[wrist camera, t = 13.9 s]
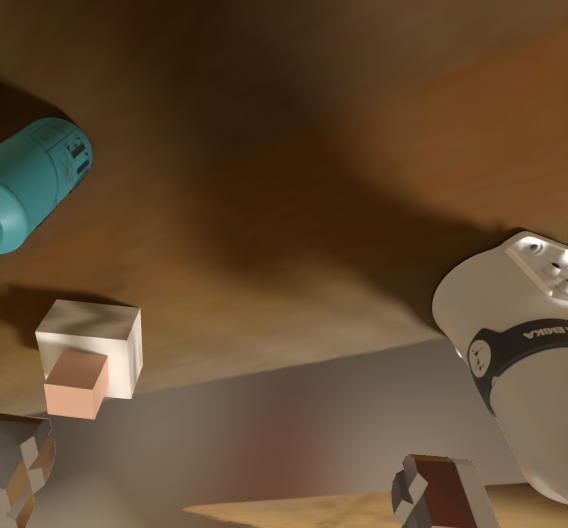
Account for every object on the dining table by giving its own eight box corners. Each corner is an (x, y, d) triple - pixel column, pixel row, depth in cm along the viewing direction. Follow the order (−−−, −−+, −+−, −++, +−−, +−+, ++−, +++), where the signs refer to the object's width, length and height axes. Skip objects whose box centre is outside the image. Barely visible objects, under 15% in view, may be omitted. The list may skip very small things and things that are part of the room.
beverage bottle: (17, 124, 43) (-151, 225, 26) (76, 98, 42) (-61, 187, 25) (59, 183, 46) (-66, 306, 30) (115, 161, 45) (17, 276, 28)
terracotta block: (108, 355, 52) (92, 390, 48) (108, 384, 55) (94, 419, 50) (63, 349, 51) (43, 383, 47) (66, 379, 54) (48, 413, 50)
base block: (140, 306, 56) (126, 340, 51) (143, 363, 61) (131, 398, 56) (57, 298, 55) (35, 331, 50) (67, 356, 60) (48, 391, 55)
